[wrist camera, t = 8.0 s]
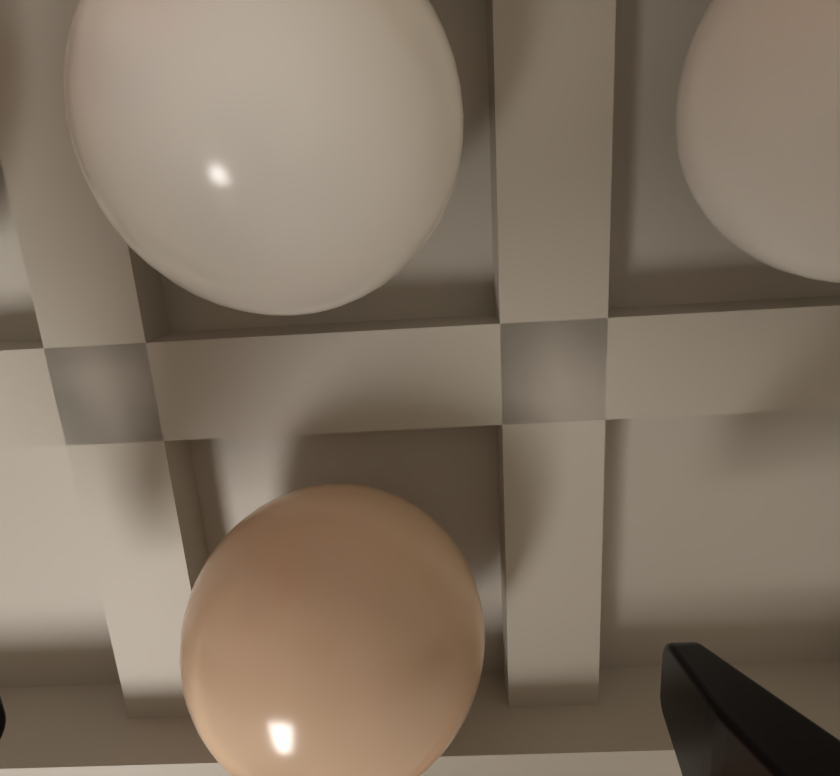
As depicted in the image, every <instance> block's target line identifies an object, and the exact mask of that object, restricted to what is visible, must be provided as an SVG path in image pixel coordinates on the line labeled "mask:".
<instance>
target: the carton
mask: <svg viewBox="0 0 840 776" xmlns="http://www.w3.org/2000/svg"><path fill="white" fill-rule="evenodd" d="M79 1H80V0H0V696H1V700H2V703H3V706H4V710H5V713H6V724H5V729H4V732H3V735H2V737H1V739H0V776H231V775H230V774H229V773H228V772H227V771H226V770H225V769H224V768H223V767H222V766H221V765H220V764H219V762H218V761H217V760H216V759H215V758H214V756H213V755H212V754H211V753H210V751H209V750H208V749H207V747H206V746H205V744H204V742H203V741H202V739H201V738H200V736H199V734H198V732H197V730H196V728H195V725H194V723H193V721H192V718H191V716H190V713H189V711H188V708H187V705H186V701H185V697H184V694H183V688H182V681H181V673H180V665H179V656H180V636H181V628H182V623H183V618H184V614H185V610H186V606H187V602H188V599H189V597H190V594H191V591H192V589H193V586H194V584H195V582H196V580H197V578H198V576H199V574H200V572H201V570H202V568H203V566H204V565H205V563H206V561H207V559H208V558H209V556H210V555H211V554H212V552H213V551H214V550H215V549H216V547H217V546H218V545H219V543H220V542H221V541H222V540H223V538H224V537H225V536H226V535H227V534H228V533H229V532H230V531H231V530H232V529H233V528H234V527H235V526H236V525H237V524H238V523H239V522H240V521H242V520H243V519H244V518H245V517H247V516H248V515H249V514H251V513H252V512H254V511H255V510H256V509H258V508H259V507H260V506H262V505H264V504H266V503H268V502H270V501H271V500H273V499H275V498H277V497H280V496H282V495H285V494H287V493H290V492H293V491H295V490H298V489H302V488H306V487H310V486H314V485H322V484H330V483H350V484H358V485H365V486H370V487H374V488H378V489H382V490H385V491H387V492H390V493H393V494H395V495H398V496H400V497H402V498H404V499H406V500H407V501H409V502H411V503H413V504H415V505H416V506H417V507H419V508H420V509H422V510H423V511H425V512H426V513H427V514H428V515H429V516H431V517H432V518H433V519H434V520H435V521H436V522H437V523H438V524H439V525H440V526H441V527H442V528H443V529H444V530H445V531H446V532H447V533H448V535H449V536H450V537H451V538H452V539H453V541H454V542H455V543H456V545H457V546H458V548H459V550H460V551H461V553H462V555H463V556H464V558H465V560H466V562H467V564H468V566H469V568H470V570H471V572H472V575H473V577H474V579H475V582H476V586H477V590H478V593H479V597H480V601H481V604H482V609H483V617H484V628H485V649H484V660H483V666H482V672H481V677H480V682H479V686H478V689H477V691H476V694H475V697H474V700H473V703H472V705H471V708H470V711H469V713H468V715H467V717H466V719H465V721H464V723H463V724H462V726H461V728H460V730H459V731H458V733H457V735H456V736H455V738H454V739H453V741H452V742H451V744H450V745H449V746H448V748H447V749H446V750H445V752H444V753H443V754H442V755H441V756H440V757H439V758H438V759H437V760H436V761H435V762H434V763H433V764H432V765H431V766H430V767H429V768H428V769H427V770H426V771H425V772H424V773H423V774H422V775H420V776H682V773H681V770H680V766H679V763H678V760H677V757H676V754H675V751H674V748H673V744H672V741H671V738H670V735H669V732H668V729H667V726H666V723H665V719H664V716H663V713H662V708H661V702H660V687H661V669H662V653H663V649H664V646H665V645H666V644H668V643H670V642H697V643H700V644H701V645H703V646H704V647H706V648H707V649H709V650H710V651H712V652H713V653H715V654H716V655H718V656H719V657H720V658H722V659H723V660H725V661H726V662H728V663H729V664H731V665H732V666H733V667H735V668H736V669H738V670H739V671H741V672H742V673H744V674H745V675H746V676H748V677H749V678H751V679H752V680H754V681H755V682H757V683H758V684H759V685H761V686H762V687H764V688H765V689H767V690H768V691H770V692H771V693H772V694H774V695H775V696H777V697H778V698H780V699H781V700H783V701H784V702H785V703H787V704H788V705H790V706H791V707H793V708H794V709H796V710H797V711H799V712H800V713H801V714H803V715H804V716H806V717H807V718H809V719H810V720H812V721H813V722H814V723H816V724H817V725H819V726H820V727H822V728H823V729H825V730H826V731H827V732H829V733H830V734H832V735H833V736H835V737H836V738H838V739H839V740H840V283H834V282H827V281H820V280H813V279H809V278H805V277H802V276H798V275H795V274H791V273H788V272H784V271H781V270H777V269H775V268H773V267H771V266H769V265H767V264H764V263H762V262H760V261H758V260H756V259H755V258H753V257H752V256H750V255H748V254H747V253H745V252H744V251H742V250H741V249H739V248H738V247H736V246H735V245H733V244H732V243H731V242H730V241H729V240H727V239H726V238H725V237H724V236H723V235H722V234H721V233H720V232H718V231H717V229H716V228H715V227H714V226H713V225H712V223H711V222H710V221H709V220H708V219H707V217H706V216H705V215H704V213H703V212H702V210H701V208H700V207H699V205H698V204H697V202H696V200H695V199H694V197H693V195H692V194H691V191H690V189H689V187H688V184H687V182H686V180H685V177H684V175H683V171H682V167H681V164H680V160H679V156H678V150H677V142H676V135H675V111H676V102H677V93H678V87H679V82H680V78H681V74H682V70H683V65H684V61H685V58H686V55H687V52H688V50H689V47H690V44H691V41H692V38H693V36H694V34H695V32H696V30H697V28H698V26H699V23H700V21H701V19H702V17H703V15H704V13H705V11H706V10H707V8H708V7H709V5H710V3H711V2H712V0H429V2H430V3H431V5H432V6H433V8H434V10H435V12H436V14H437V16H438V18H439V20H440V22H441V24H442V26H443V28H444V30H445V33H446V36H447V38H448V41H449V44H450V47H451V50H452V53H453V55H454V58H455V63H456V67H457V72H458V76H459V81H460V85H461V95H462V105H463V115H464V123H463V147H462V154H461V160H460V167H459V171H458V175H457V179H456V182H455V186H454V190H453V193H452V196H451V198H450V200H449V203H448V205H447V208H446V210H445V212H444V215H443V217H442V218H441V220H440V222H439V224H438V225H437V227H436V229H435V231H434V232H433V234H432V236H431V237H430V239H429V240H428V241H427V243H426V244H425V245H424V247H423V248H422V249H421V251H420V252H419V253H418V254H417V256H416V257H415V258H414V259H413V260H412V261H411V262H410V263H409V264H408V265H407V266H406V267H405V268H404V269H403V270H402V271H401V272H400V273H398V274H397V275H396V276H394V277H393V278H392V279H391V280H389V281H388V282H387V283H385V284H384V285H383V286H381V287H379V288H378V289H376V290H374V291H372V292H371V293H369V294H367V295H365V296H364V297H362V298H360V299H357V300H355V301H352V302H350V303H347V304H345V305H343V306H340V307H337V308H333V309H329V310H326V311H322V312H318V313H311V314H303V315H295V316H279V315H264V314H257V313H250V312H244V311H239V310H236V309H232V308H228V307H225V306H221V305H218V304H215V303H213V302H210V301H208V300H206V299H203V298H201V297H198V296H196V295H194V294H193V293H191V292H189V291H187V290H185V289H184V288H182V287H180V286H178V285H177V284H175V283H173V282H172V281H171V280H169V279H168V278H166V277H165V276H164V275H162V274H161V273H160V272H158V271H157V270H156V269H154V268H153V267H151V266H150V265H149V264H148V263H147V262H146V261H144V260H143V259H142V258H141V257H140V256H139V255H138V254H137V253H136V252H135V251H134V250H133V249H132V248H130V246H129V245H128V244H127V243H126V242H125V241H124V239H123V238H122V237H121V236H120V235H119V234H118V232H117V231H116V230H115V229H114V228H113V226H112V225H111V223H110V222H109V220H108V219H107V217H106V216H105V214H104V213H103V211H102V210H101V208H100V207H99V205H98V203H97V201H96V200H95V198H94V196H93V194H92V192H91V190H90V188H89V186H88V184H87V182H86V180H85V178H84V176H83V174H82V171H81V168H80V166H79V163H78V161H77V158H76V155H75V153H74V149H73V145H72V141H71V137H70V134H69V130H68V125H67V118H66V111H65V104H64V74H63V73H64V63H65V54H66V45H67V41H68V37H69V32H70V28H71V24H72V20H73V17H74V15H75V12H76V9H77V7H78V4H79Z"/></svg>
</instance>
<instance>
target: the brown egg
mask: <svg viewBox="0 0 840 776" xmlns="http://www.w3.org/2000/svg"><path fill="white" fill-rule="evenodd" d="M484 649H485V628H484V617H483V609H482V604H481V601H480V597H479V593H478V590H477V586H476V582H475V579H474V577H473V575H472V572H471V570H470V568H469V566H468V564H467V562H466V560H465V558H464V556H463V555H462V553H461V551H460V550H459V548H458V546H457V545H456V543H455V542H454V541H453V539H452V538H451V537H450V536H449V535H448V533H447V532H446V531H445V530H444V529H443V528H442V527H441V526H440V525H439V524H438V523H437V522H436V521H435V520H434V519H433V518H432V517H431V516H429V515H428V514H427V513H426V512H425V511H423V510H422V509H420V508H419V507H417V506H416V505H415V504H413V503H411V502H409V501H407V500H406V499H404V498H402V497H400V496H398V495H395V494H393V493H390V492H387V491H385V490H382V489H378V488H374V487H370V486H365V485H358V484H350V483H330V484H322V485H314V486H310V487H306V488H302V489H298V490H295V491H293V492H290V493H287V494H285V495H282V496H280V497H277V498H275V499H273V500H271V501H270V502H268V503H266V504H264V505H262V506H260V507H259V508H258V509H256V510H255V511H254V512H252V513H251V514H249V515H248V516H247V517H245V518H244V519H243V520H242V521H240V522H239V523H238V524H237V525H236V526H235V527H234V528H233V529H232V530H231V531H230V532H229V533H228V534H227V535H226V536H225V537H224V538H223V540H222V541H221V542H220V543H219V545H218V546H217V547H216V549H215V550H214V551H213V552H212V554H211V555H210V556H209V558H208V559H207V561H206V563H205V565H204V566H203V568H202V570H201V572H200V574H199V576H198V578H197V580H196V582H195V584H194V586H193V589H192V591H191V594H190V597H189V599H188V602H187V606H186V610H185V614H184V618H183V623H182V628H181V636H180V656H179V665H180V673H181V681H182V688H183V694H184V697H185V701H186V705H187V708H188V711H189V713H190V716H191V718H192V721H193V723H194V725H195V728H196V730H197V732H198V734H199V736H200V738H201V739H202V741H203V742H204V744H205V746H206V747H207V749H208V750H209V751H210V753H211V754H212V755H213V756H214V758H215V759H216V760H217V761H218V762H219V764H220V765H221V766H222V767H223V768H224V769H225V770H226V771H227V772H228V773H229V774H230V775H231V776H420V775H422V774H423V773H424V772H425V771H426V770H427V769H428V768H429V767H430V766H431V765H432V764H433V763H434V762H435V761H436V760H437V759H438V758H439V757H440V756H441V755H442V754H443V753H444V752H445V750H446V749H447V748H448V746H449V745H450V744H451V742H452V741H453V739H454V738H455V736H456V735H457V733H458V731H459V730H460V728H461V726H462V724H463V723H464V721H465V719H466V717H467V715H468V713H469V711H470V708H471V705H472V703H473V700H474V697H475V694H476V691H477V689H478V686H479V682H480V677H481V672H482V666H483V660H484Z"/></svg>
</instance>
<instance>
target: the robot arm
mask: <svg viewBox="0 0 840 776" xmlns="http://www.w3.org/2000/svg"><path fill="white" fill-rule="evenodd" d="M660 702H661V708H662V713H663V716H664V719H665V723H666V726H667V729H668V732H669V735H670V738H671V741H672V744H673V748H674V751H675V754H676V757H677V760H678V763H679V766H680V770H681V773H682V776H840V740H839V739H838V738H836V737H835V736H833V735H832V734H830V733H829V732H827V731H826V730H825V729H823V728H822V727H820V726H819V725H817V724H816V723H814V722H813V721H812V720H810V719H809V718H807V717H806V716H804V715H803V714H801V713H800V712H799V711H797V710H796V709H794V708H793V707H791V706H790V705H788V704H787V703H785V702H784V701H783V700H781V699H780V698H778V697H777V696H775V695H774V694H772V693H771V692H770V691H768V690H767V689H765V688H764V687H762V686H761V685H759V684H758V683H757V682H755V681H754V680H752V679H751V678H749V677H748V676H746V675H745V674H744V673H742V672H741V671H739V670H738V669H736V668H735V667H733V666H732V665H731V664H729V663H728V662H726V661H725V660H723V659H722V658H720V657H719V656H718V655H716V654H715V653H713V652H712V651H710V650H709V649H707V648H706V647H704V646H703V645H701V644H700V643H697V642H670V643H668V644H666V645H665V646H664V649H663V653H662V669H661V687H660ZM5 724H6V713H5V710H4V706H3V703H2V700H1V696H0V739H1V737H2V735H3V732H4V729H5Z"/></svg>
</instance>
